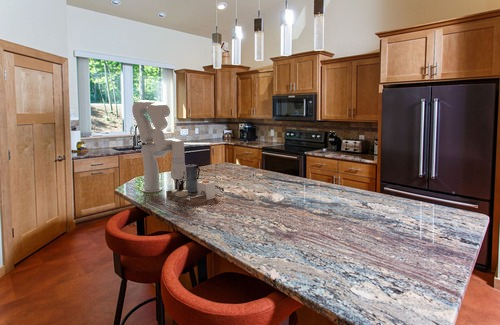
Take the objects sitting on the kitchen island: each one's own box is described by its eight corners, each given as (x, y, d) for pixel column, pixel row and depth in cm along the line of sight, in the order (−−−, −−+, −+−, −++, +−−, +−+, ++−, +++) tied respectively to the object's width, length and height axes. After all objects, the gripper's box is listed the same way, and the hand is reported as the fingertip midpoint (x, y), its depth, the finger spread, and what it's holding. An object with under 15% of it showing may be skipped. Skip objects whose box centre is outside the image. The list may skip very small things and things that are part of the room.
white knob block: (197, 198, 202) (196, 182, 201) (206, 195, 208) (205, 180, 206) (205, 200, 197) (205, 184, 195) (214, 197, 203) (214, 182, 201)
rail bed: (166, 198, 202) (166, 191, 201) (181, 194, 210) (180, 187, 209) (192, 205, 186) (191, 198, 185) (206, 201, 194) (206, 194, 194)
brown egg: (201, 187, 201) (201, 180, 201) (206, 186, 204) (206, 179, 204) (205, 188, 199) (205, 181, 198) (210, 187, 202) (210, 180, 201)
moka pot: (189, 188, 227) (188, 160, 224) (206, 191, 218) (205, 162, 215) (179, 191, 219) (178, 161, 216) (196, 194, 210) (195, 164, 207)
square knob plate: (171, 195, 201) (171, 181, 200) (180, 193, 207) (180, 179, 205) (178, 197, 197) (178, 182, 195) (187, 195, 202) (187, 180, 201)
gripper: (165, 159, 201) (166, 188, 204) (181, 162, 190) (182, 193, 193) (175, 158, 206) (176, 186, 209) (191, 160, 196) (192, 190, 199)
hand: (179, 189), depth 201 cm, fingers closed on square knob plate, 3 cm apart
